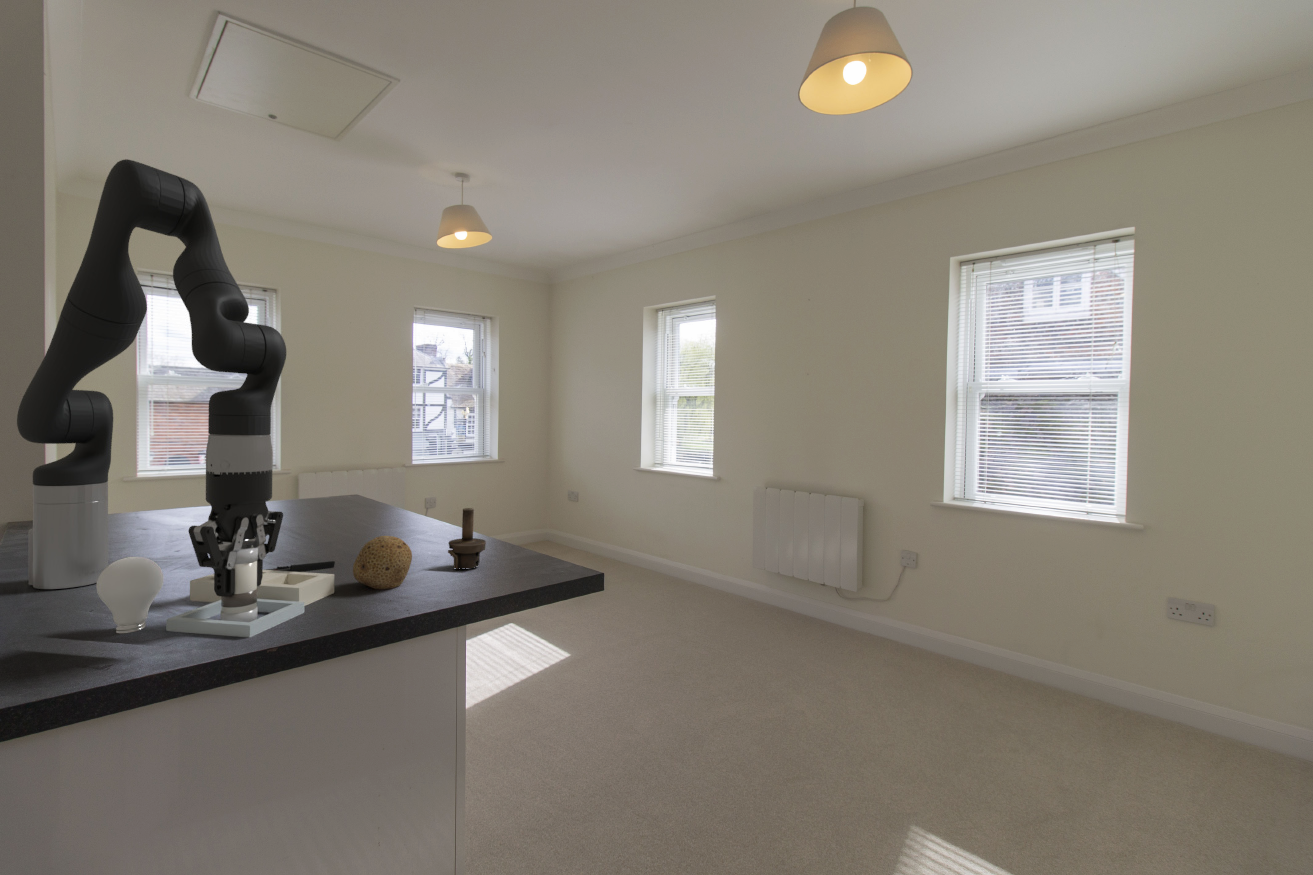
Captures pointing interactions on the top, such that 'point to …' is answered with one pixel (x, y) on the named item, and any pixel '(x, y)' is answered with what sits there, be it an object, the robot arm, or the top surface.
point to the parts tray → (200, 624)
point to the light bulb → (130, 591)
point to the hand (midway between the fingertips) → (239, 590)
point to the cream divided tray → (274, 587)
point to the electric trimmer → (306, 567)
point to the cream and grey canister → (242, 588)
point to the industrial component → (466, 544)
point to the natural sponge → (383, 563)
